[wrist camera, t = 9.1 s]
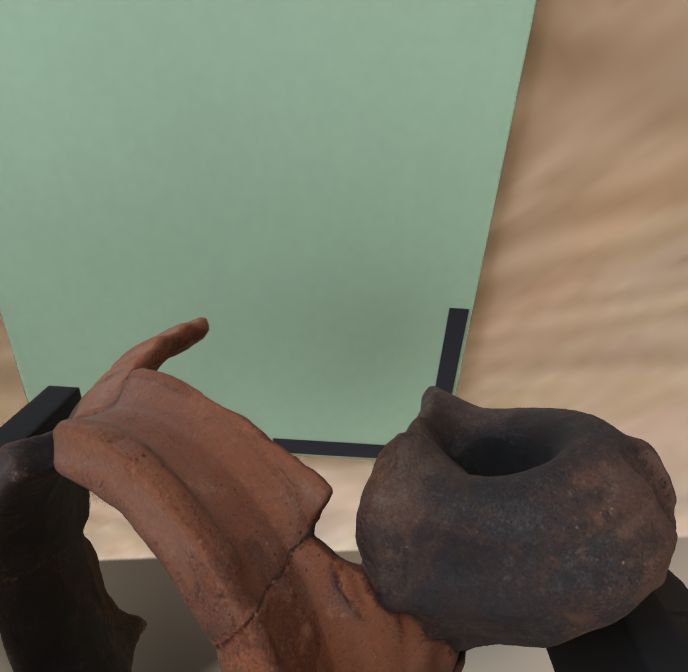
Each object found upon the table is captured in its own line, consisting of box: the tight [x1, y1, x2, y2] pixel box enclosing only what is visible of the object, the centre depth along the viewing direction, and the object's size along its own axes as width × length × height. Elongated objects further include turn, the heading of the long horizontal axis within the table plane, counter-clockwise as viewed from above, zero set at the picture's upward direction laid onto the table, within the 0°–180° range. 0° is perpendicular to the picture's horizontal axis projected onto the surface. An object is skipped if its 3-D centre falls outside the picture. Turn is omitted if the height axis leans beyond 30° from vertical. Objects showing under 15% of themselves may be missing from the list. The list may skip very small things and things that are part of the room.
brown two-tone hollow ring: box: [0, 317, 677, 672], centre depth 9 cm, size 12×10×8 cm
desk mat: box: [0, 0, 537, 460], centre depth 17 cm, size 20×22×1 cm
